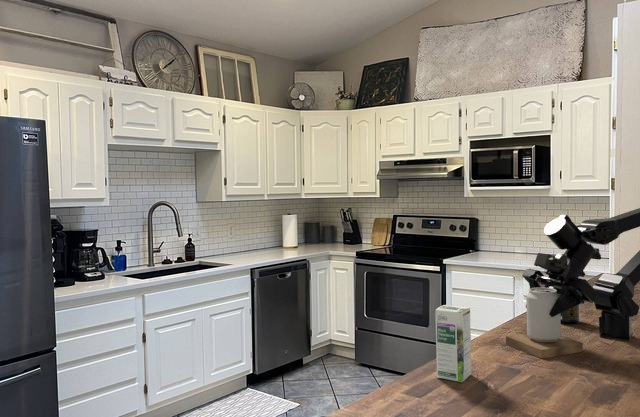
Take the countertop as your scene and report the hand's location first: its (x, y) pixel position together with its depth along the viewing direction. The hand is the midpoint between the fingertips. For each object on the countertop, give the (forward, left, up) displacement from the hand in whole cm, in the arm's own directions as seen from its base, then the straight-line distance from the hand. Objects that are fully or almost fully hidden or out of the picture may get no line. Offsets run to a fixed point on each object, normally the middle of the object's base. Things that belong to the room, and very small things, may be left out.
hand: (538, 312), depth 126 cm
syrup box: (+8, +28, -9) cm, 31 cm away
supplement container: (+1, -28, -9) cm, 30 cm away
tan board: (-1, -1, -9) cm, 9 cm away
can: (-1, -1, -7) cm, 7 cm away
